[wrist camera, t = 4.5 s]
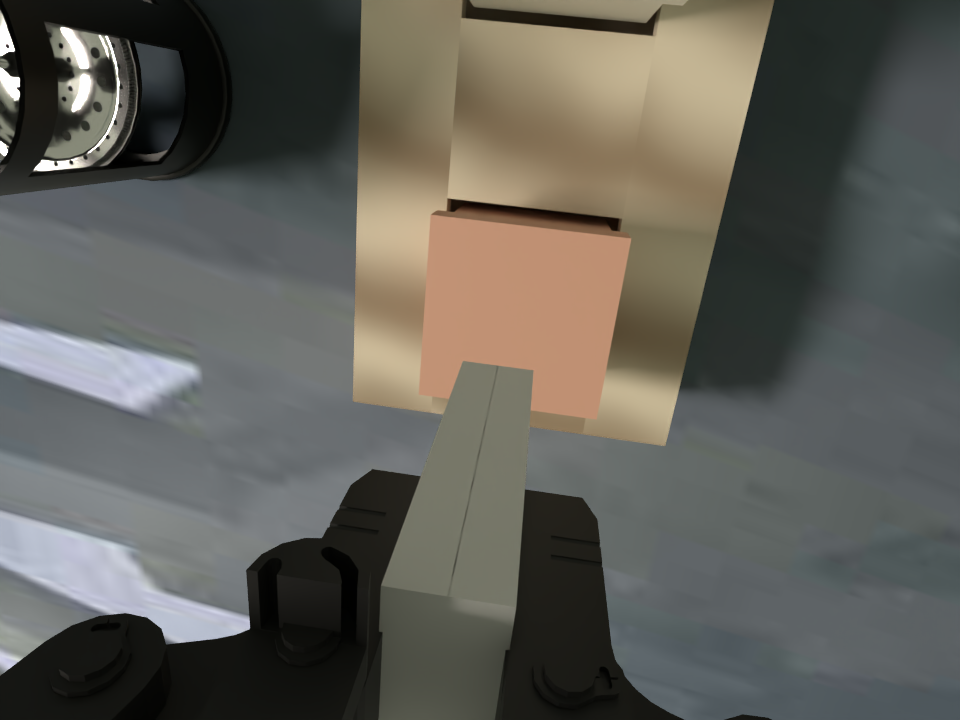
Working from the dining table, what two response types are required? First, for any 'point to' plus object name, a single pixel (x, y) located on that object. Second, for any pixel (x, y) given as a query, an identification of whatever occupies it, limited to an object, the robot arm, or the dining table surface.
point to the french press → (101, 91)
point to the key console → (550, 170)
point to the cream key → (584, 7)
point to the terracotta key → (523, 301)
